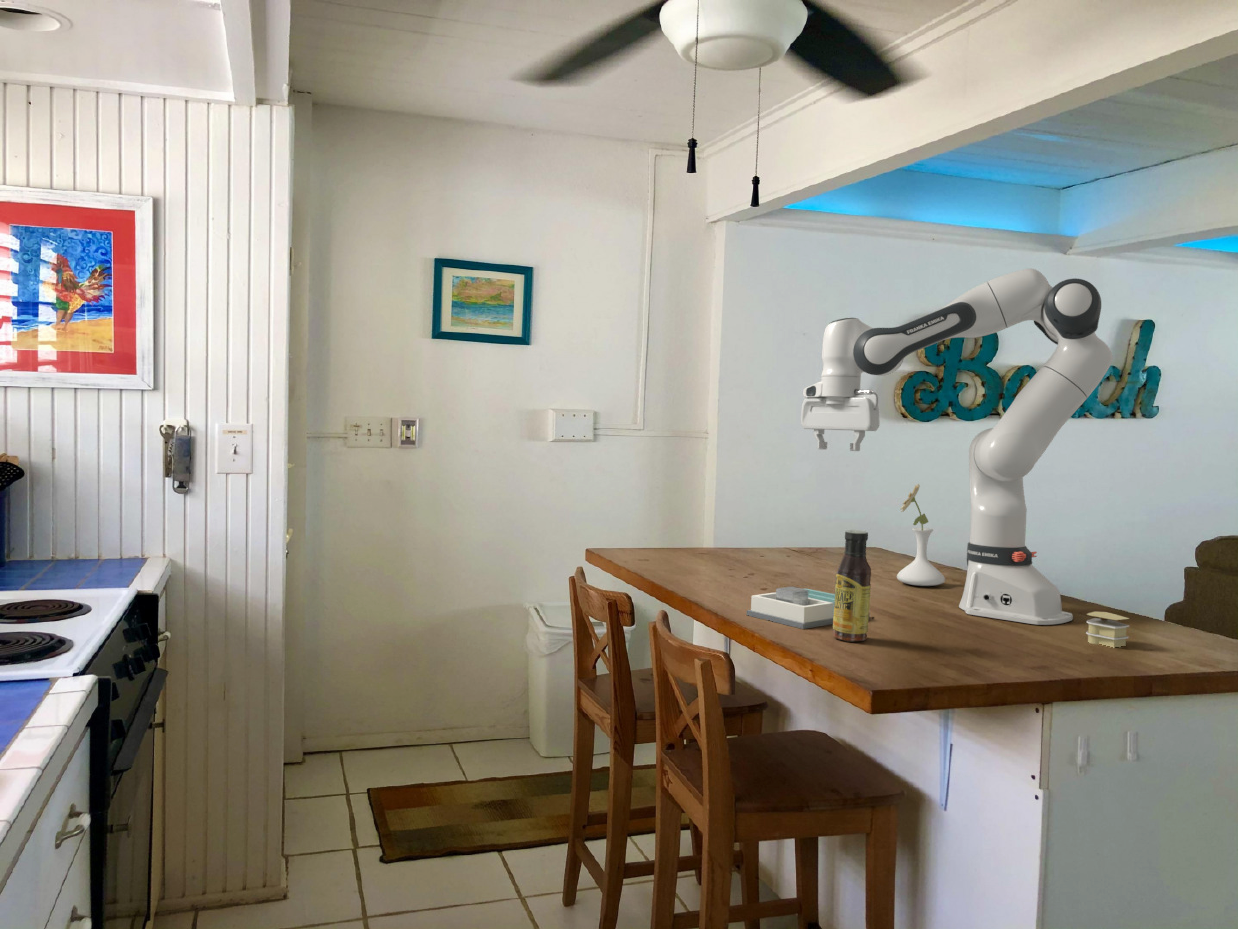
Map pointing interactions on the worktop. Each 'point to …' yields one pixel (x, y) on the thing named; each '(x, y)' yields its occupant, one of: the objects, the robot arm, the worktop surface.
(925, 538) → the flower in vase
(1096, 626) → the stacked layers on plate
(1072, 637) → the worktop surface
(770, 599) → the holder
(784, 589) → the steel block
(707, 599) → the worktop surface
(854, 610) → the sauce bottle
